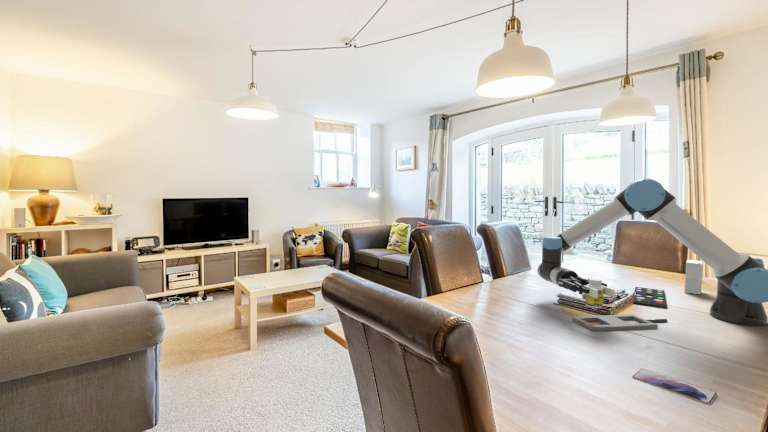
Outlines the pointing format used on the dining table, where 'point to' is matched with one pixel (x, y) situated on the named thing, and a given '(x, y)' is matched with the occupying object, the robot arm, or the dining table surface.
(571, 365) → the dining table surface
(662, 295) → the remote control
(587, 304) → the supplement bottle
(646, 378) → the smartphone
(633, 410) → the dining table surface
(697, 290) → the skincare box
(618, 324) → the socket strip
